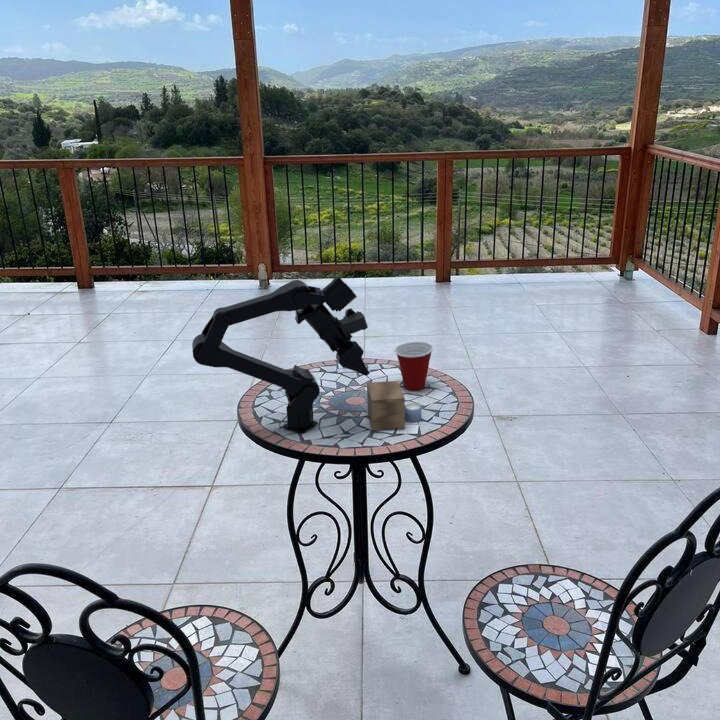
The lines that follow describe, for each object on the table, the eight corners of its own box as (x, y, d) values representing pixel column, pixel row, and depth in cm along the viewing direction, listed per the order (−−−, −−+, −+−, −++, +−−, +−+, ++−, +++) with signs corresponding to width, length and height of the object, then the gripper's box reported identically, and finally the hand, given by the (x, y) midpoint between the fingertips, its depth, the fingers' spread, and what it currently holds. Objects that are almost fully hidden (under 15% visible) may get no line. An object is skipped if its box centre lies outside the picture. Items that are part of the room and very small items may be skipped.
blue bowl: (416, 423, 170) (416, 411, 169) (401, 419, 173) (400, 408, 171) (424, 417, 174) (424, 405, 173) (409, 413, 176) (409, 401, 175)
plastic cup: (388, 383, 195) (387, 344, 191) (422, 377, 198) (422, 338, 194) (404, 397, 185) (404, 356, 181) (439, 390, 189) (440, 350, 185)
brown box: (372, 430, 167) (372, 400, 164) (367, 411, 177) (366, 382, 174) (404, 428, 168) (404, 398, 165) (397, 409, 178) (397, 380, 175)
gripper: (359, 312, 154) (399, 359, 161) (341, 292, 171) (377, 335, 177) (322, 344, 154) (363, 390, 161) (307, 320, 171) (345, 362, 178)
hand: (363, 367), depth 169 cm, fingers open, 9 cm apart
